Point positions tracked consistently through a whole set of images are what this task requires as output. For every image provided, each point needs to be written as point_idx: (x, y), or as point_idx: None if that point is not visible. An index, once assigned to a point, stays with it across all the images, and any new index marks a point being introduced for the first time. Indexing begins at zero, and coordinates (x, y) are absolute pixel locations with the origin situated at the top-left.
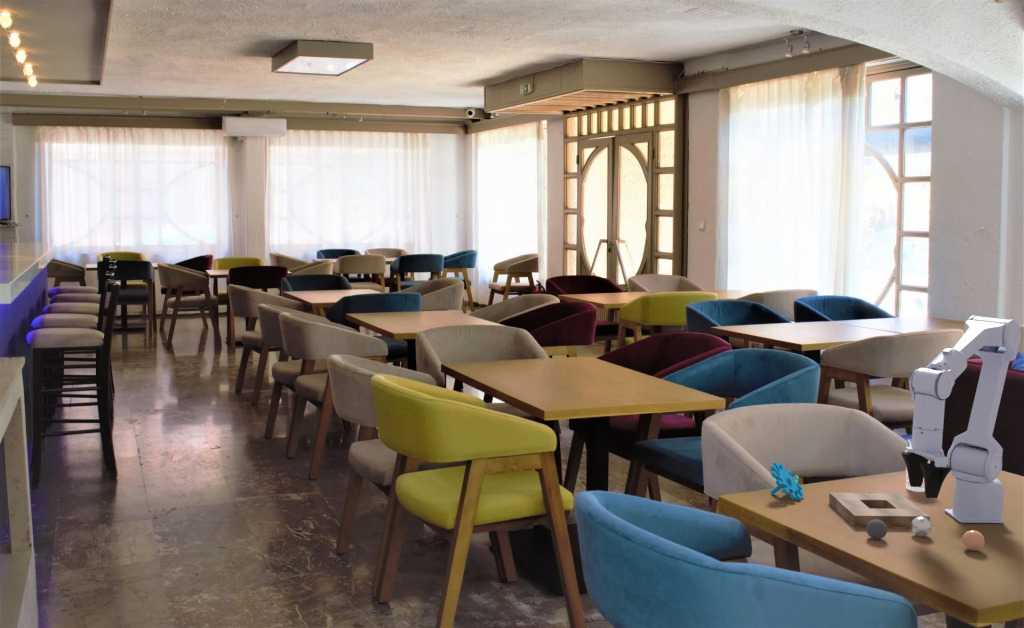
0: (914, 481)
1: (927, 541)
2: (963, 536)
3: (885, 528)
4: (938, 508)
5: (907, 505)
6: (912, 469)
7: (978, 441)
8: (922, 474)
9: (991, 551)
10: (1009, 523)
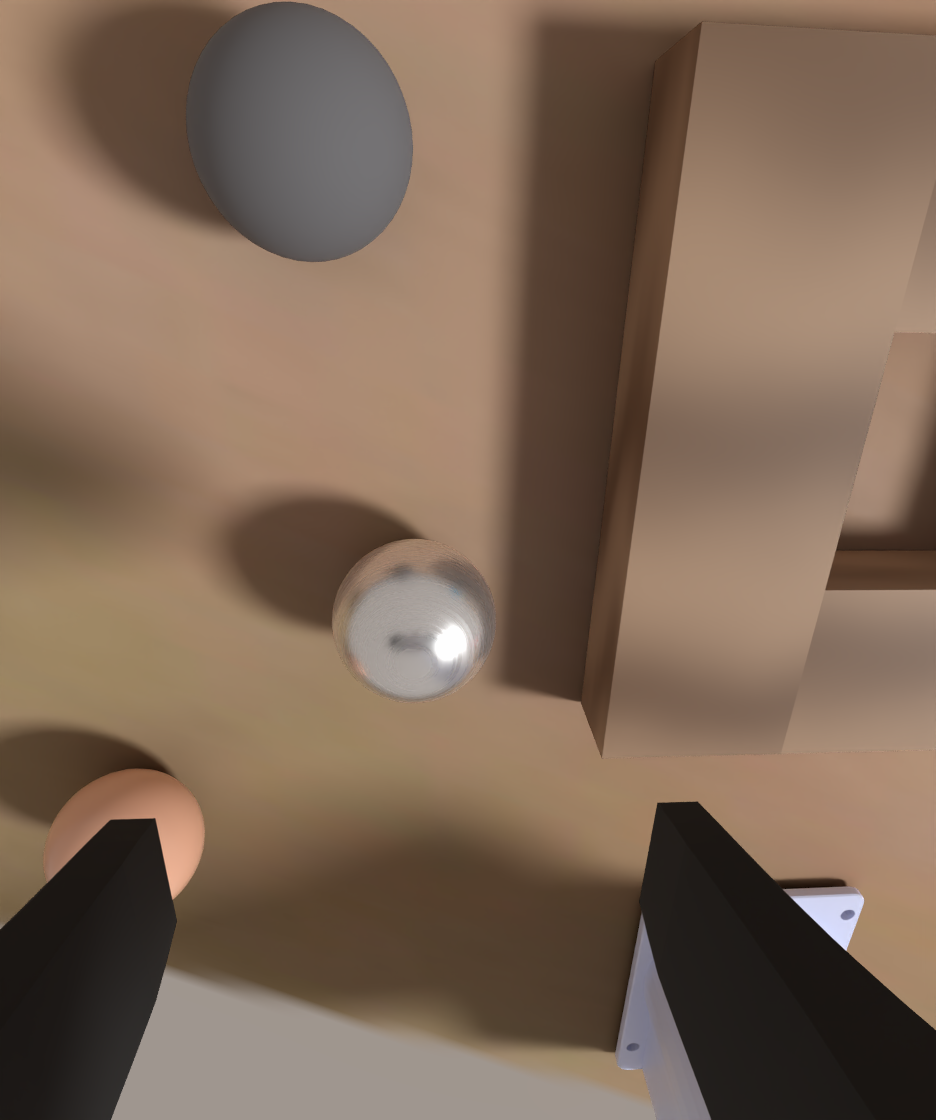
0: (682, 899)
1: (297, 586)
2: (122, 809)
3: (220, 211)
4: (918, 874)
5: (877, 698)
6: (807, 1089)
7: None
8: (717, 1100)
9: None
10: (620, 1073)
